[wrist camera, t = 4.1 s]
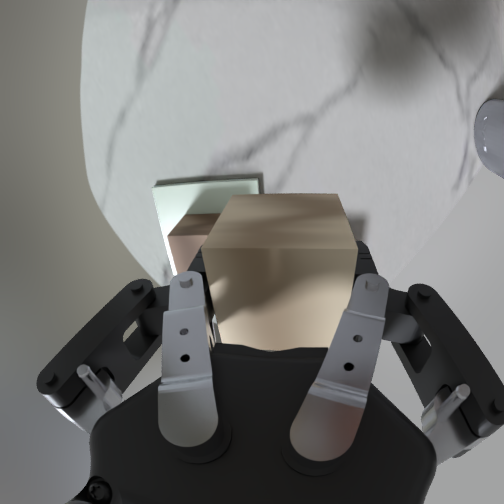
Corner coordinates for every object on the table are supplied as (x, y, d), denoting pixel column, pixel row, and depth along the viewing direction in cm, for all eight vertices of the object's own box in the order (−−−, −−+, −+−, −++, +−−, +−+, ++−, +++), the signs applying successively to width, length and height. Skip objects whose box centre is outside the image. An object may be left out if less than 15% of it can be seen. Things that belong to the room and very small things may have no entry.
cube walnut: (227, 213, 29) (215, 235, 25) (233, 252, 32) (222, 278, 28) (184, 214, 30) (166, 235, 26) (192, 252, 33) (178, 277, 29)
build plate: (258, 178, 28) (257, 180, 27) (265, 273, 34) (264, 277, 33) (154, 185, 30) (151, 188, 29) (176, 271, 36) (173, 275, 35)
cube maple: (337, 193, 12) (358, 248, 8) (331, 279, 15) (339, 350, 11) (232, 194, 13) (201, 247, 9) (242, 278, 16) (223, 346, 11)
